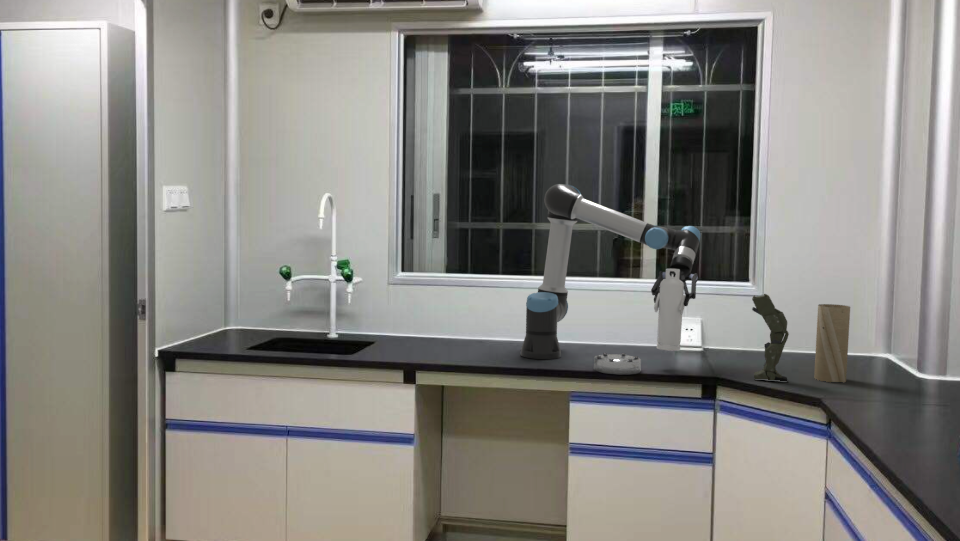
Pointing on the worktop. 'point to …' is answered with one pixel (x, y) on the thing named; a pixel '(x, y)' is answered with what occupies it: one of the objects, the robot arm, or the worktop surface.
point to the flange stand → (617, 364)
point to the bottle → (670, 312)
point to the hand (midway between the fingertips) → (667, 310)
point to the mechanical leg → (771, 337)
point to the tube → (832, 342)
